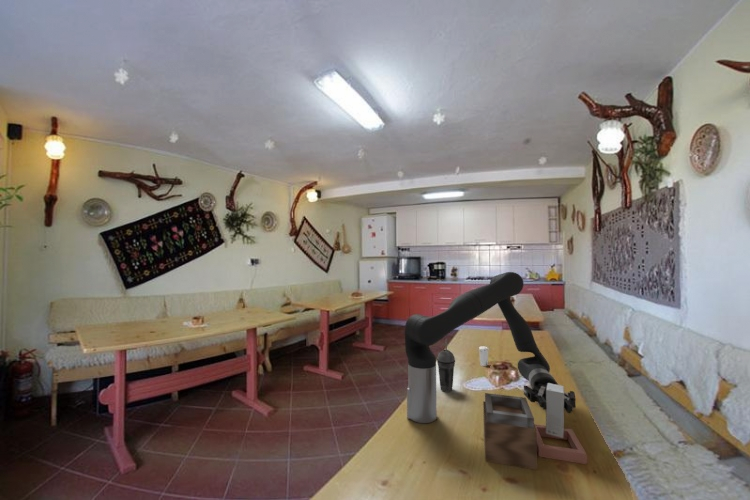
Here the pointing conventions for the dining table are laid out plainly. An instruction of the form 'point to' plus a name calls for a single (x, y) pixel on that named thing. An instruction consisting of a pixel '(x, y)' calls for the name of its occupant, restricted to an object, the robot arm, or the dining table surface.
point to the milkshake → (483, 355)
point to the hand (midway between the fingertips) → (557, 407)
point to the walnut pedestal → (509, 431)
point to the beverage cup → (446, 369)
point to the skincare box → (555, 410)
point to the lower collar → (561, 453)
